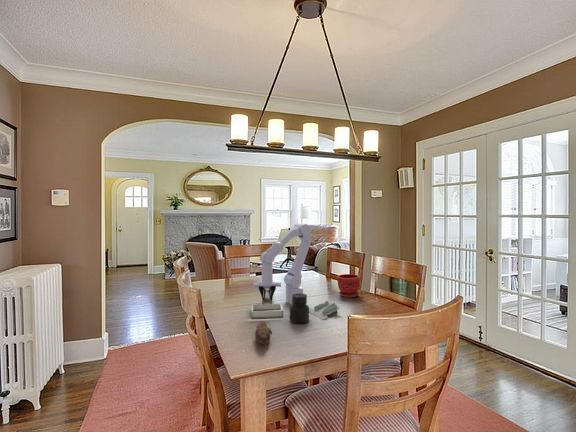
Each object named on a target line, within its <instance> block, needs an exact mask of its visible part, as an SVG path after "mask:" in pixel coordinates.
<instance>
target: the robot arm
mask: <svg viewBox="0 0 576 432" xmlns="http://www.w3.org/2000/svg"><path fill="white" fill-rule="evenodd" d="M312 231H313V230H312V228H311V226H310V225H309V224H307V223H299V222H297V223H295V224H294V225H293V226H292V227H291V228H290V230H289V231H288V232H287V233H286V234H285V235H284V236H283V237H282V238H281V239H280V240H279V241H275V242H273V243H272V244H271V246H270V247H269V248H267V249H266V250H265V251H263V252H261V254H260V256H259V260H260V261H261V282H253V284H252V285H253V288H258V291H259V293H260V295H261V301H264V290H263V287H271V301H272V300H273V298H274V294H275V291H276V289H277V288H278V287H279V288H281V287H282V283H281V282H278V281H277V282H275V281H274V282H273V279H274V278H273V262H275V258H276V257H277V256H279V254H280V253H281V252H283V250H284V246H285V245H287V244H288V243H289V242H290V241H291V240H293V239H294V238H295V237H298V239H299V241H300V244H299V246H298V249H297V252H296V255H295V257H294V259H293V263H292V266H291V268H290V269H289V270H288V271H287V273H286V274H285V275H284V278H283V281H284V284H285V302H286V303H287V304H291V305H292V304H293V303H292V295H293V294H296V293H302V294H304V288H303V286H301V284H302V275H303V274H302V269H303V267H304V264H305V260H306V258H307V255H308V252H309V249H310V246H311V244H312ZM276 287H277V288H276Z"/></svg>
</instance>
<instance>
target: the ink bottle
mask: <svg viewBox="0 0 576 432" xmlns="http://www.w3.org/2000/svg"><path fill="white" fill-rule="evenodd" d="M307 302H308V295H307V294H305V293H303V294H302V293H296V294H293V295H292V303H293V304H291V305H290V307H289V322H290V323H292V324H297V325H302V324H303V325H304V324H307V323H309V321H310V313H309V309H310V306H309V305H308V304H307Z"/></svg>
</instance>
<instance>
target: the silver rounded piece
mask: <svg viewBox="0 0 576 432" xmlns="http://www.w3.org/2000/svg"><path fill="white" fill-rule="evenodd" d="M263 296H264V301H263V304H271V287H263Z"/></svg>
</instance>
